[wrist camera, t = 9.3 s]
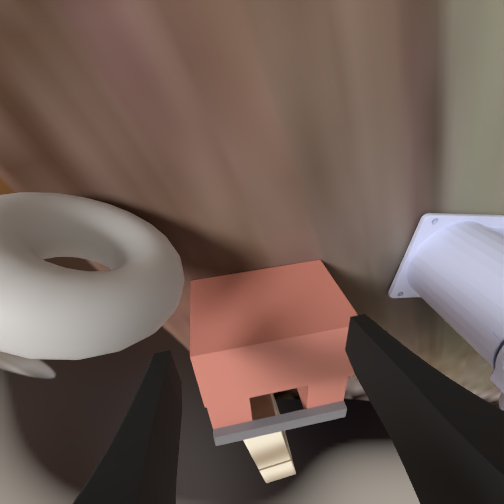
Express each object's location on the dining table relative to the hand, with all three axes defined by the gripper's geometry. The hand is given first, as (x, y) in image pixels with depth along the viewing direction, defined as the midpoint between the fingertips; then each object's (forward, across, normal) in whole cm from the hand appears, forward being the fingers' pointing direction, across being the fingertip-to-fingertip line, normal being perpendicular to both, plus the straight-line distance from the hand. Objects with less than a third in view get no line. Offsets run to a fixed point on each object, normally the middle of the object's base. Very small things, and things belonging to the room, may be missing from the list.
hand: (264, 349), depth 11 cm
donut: (+10, +8, -2) cm, 13 cm away
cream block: (+10, 0, +20) cm, 23 cm away
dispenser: (+10, -1, +9) cm, 14 cm away
